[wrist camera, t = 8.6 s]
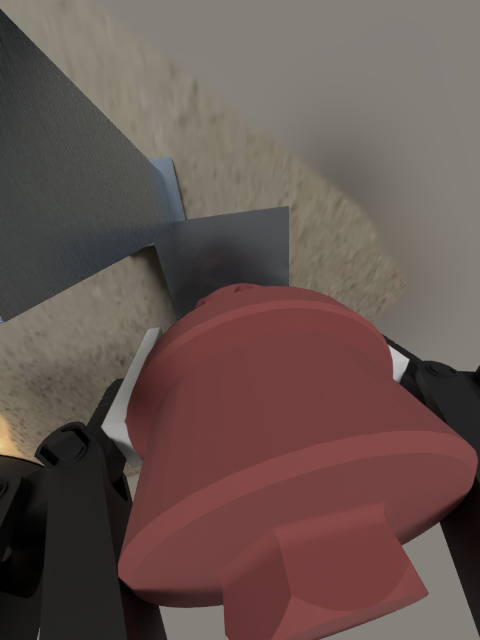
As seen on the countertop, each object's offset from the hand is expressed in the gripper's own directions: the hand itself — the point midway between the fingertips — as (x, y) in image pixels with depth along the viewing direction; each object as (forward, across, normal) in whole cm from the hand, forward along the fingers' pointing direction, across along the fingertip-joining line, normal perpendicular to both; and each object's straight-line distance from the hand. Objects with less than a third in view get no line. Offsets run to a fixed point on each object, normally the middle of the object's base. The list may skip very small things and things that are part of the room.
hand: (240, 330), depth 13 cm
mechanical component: (+1, 0, 0) cm, 1 cm away
